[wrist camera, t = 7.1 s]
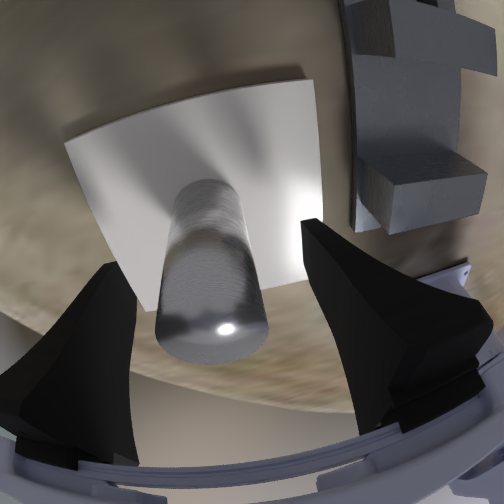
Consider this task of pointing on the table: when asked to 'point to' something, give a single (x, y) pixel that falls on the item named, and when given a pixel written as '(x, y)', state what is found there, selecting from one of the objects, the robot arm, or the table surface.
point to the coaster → (206, 175)
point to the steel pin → (209, 280)
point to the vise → (411, 111)
